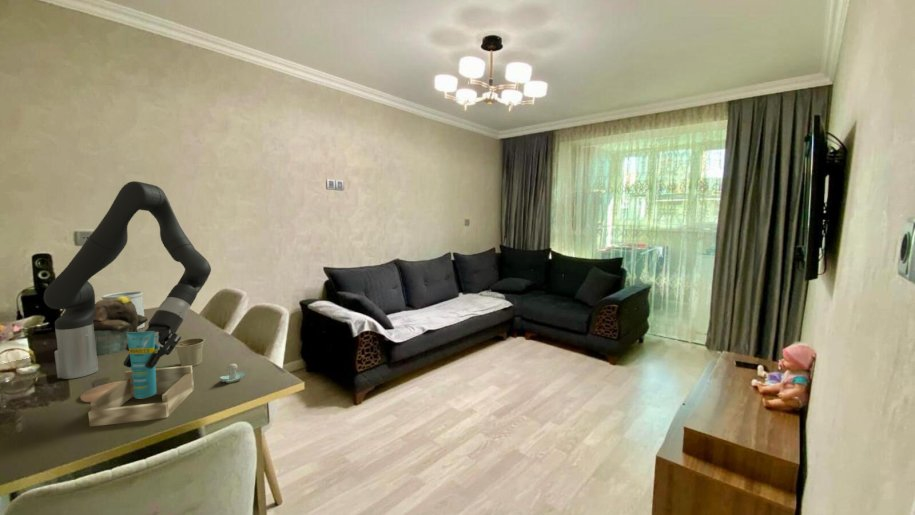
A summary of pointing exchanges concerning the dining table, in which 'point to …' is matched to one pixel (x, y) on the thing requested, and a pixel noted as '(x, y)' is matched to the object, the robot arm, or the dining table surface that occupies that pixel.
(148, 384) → the tube
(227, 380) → the pacifier
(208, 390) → the dining table surface
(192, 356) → the flower pot
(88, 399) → the saucer
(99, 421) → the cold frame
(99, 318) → the brown and grey lump
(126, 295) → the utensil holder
